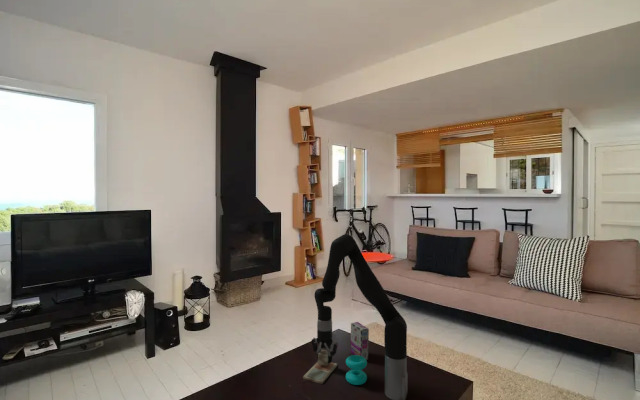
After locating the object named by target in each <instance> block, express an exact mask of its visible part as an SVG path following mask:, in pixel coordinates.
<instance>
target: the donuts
mask: <svg viewBox="0 0 640 400" xmlns="http://www.w3.org/2000/svg"><path fill="white" fill-rule="evenodd" d="M345 364H346V366H347V367H348V368H349V369H350V370H348V371H347V372H346V374H345V380H346V381H347V383H349V384H351V385H354V386H359V385H360V386H361V385H364V384H365V383H366V382H367V380H368V375H367V374H366V372H364V371H363V370H364V369H365V368H366V367H367V365H368V361H367V360H366V359H365V358H364V357H362V356H360V355H353V354H352V355H349V356H348V357H346V359H345Z"/></svg>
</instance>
